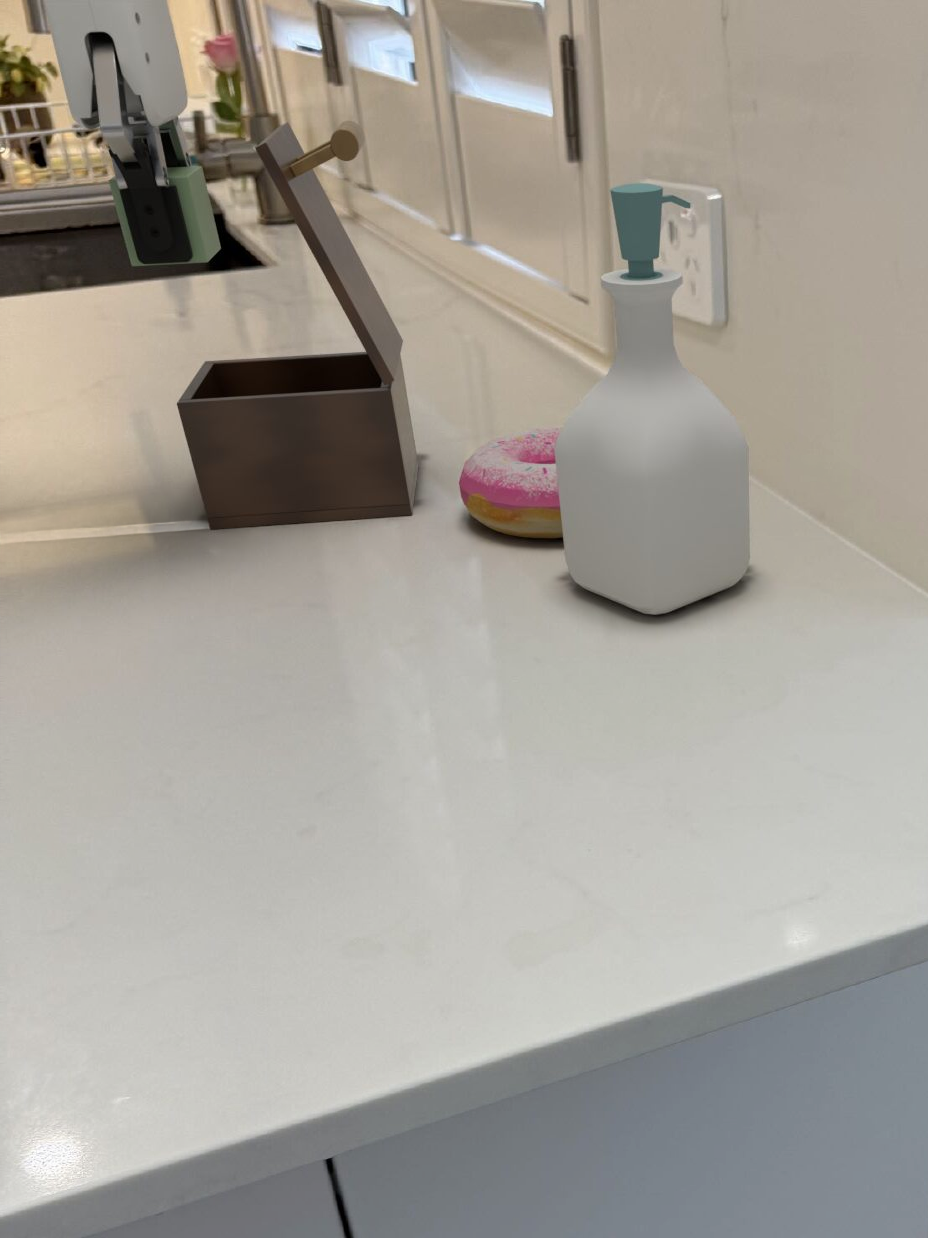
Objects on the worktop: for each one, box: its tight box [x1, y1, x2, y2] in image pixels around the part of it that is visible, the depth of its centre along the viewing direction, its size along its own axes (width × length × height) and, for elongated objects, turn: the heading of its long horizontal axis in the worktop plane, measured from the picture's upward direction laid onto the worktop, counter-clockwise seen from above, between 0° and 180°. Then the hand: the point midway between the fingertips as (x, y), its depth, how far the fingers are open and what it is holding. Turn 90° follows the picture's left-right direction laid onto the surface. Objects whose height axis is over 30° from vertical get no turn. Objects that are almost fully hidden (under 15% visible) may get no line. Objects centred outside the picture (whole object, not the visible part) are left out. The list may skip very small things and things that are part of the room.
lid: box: [254, 120, 404, 385], centre depth 91 cm, size 15×12×6 cm
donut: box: [458, 426, 563, 539], centre depth 95 cm, size 14×13×5 cm
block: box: [108, 165, 222, 267], centre depth 82 cm, size 5×5×5 cm
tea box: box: [176, 351, 420, 530], centre depth 99 cm, size 15×12×9 cm
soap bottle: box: [555, 182, 751, 616], centre depth 79 cm, size 10×10×23 cm
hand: (175, 250), depth 83 cm, fingers closed on block, 4 cm apart
